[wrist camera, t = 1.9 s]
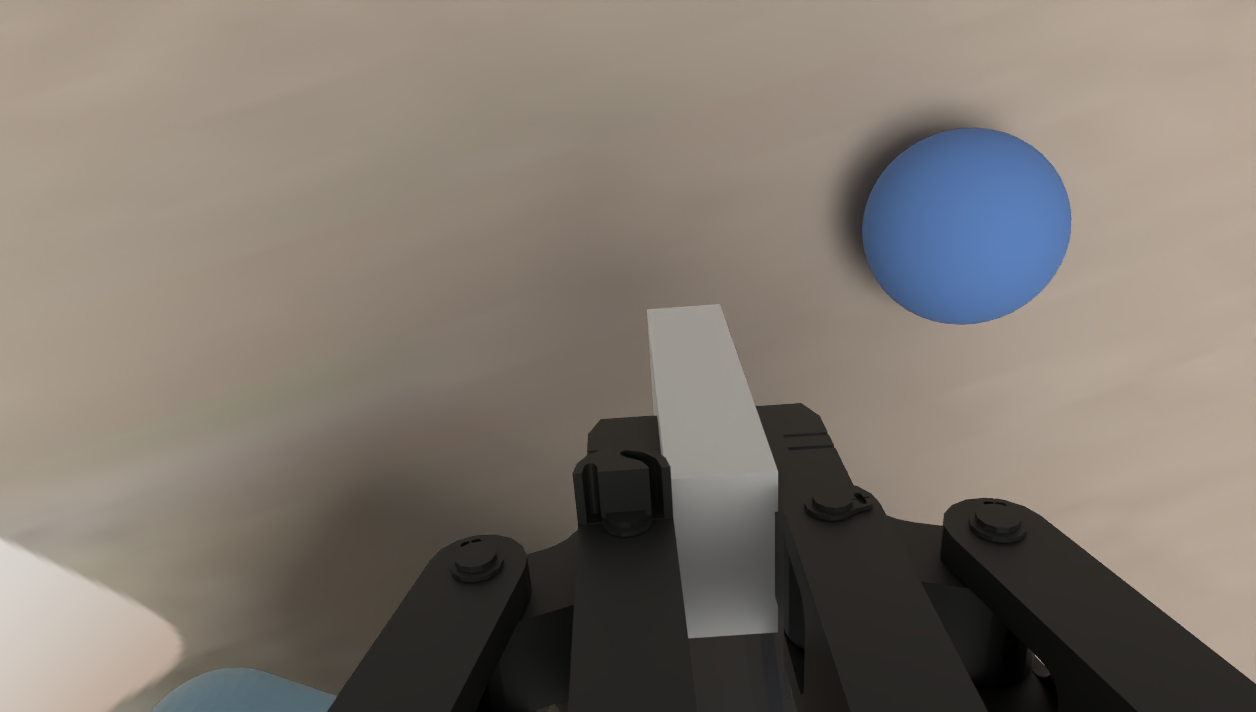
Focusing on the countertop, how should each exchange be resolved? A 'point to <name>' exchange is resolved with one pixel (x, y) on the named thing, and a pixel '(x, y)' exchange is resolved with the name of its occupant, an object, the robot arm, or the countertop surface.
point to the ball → (966, 226)
